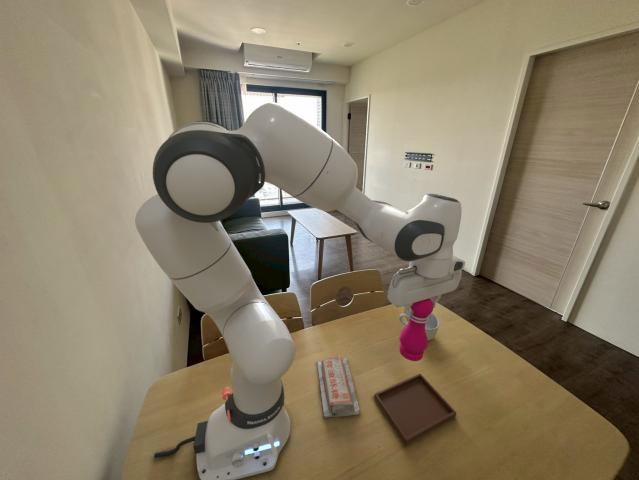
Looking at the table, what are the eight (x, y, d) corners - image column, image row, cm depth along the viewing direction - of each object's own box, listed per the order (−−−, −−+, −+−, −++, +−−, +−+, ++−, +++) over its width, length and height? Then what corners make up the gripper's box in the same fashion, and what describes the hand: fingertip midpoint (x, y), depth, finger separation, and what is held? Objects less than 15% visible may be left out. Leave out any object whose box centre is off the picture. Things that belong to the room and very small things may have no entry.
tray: (405, 445, 62) (406, 441, 61) (373, 398, 73) (374, 393, 72) (455, 417, 68) (456, 412, 67) (419, 377, 79) (420, 373, 78)
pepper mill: (420, 343, 73) (433, 284, 65) (428, 364, 66) (443, 301, 59) (395, 341, 73) (405, 282, 66) (400, 361, 67) (412, 299, 59)
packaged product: (361, 403, 66) (324, 407, 65) (360, 415, 68) (324, 419, 67) (347, 350, 83) (317, 352, 82) (346, 361, 85) (317, 363, 84)
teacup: (437, 331, 98) (441, 315, 95) (433, 350, 90) (437, 332, 87) (402, 318, 105) (404, 303, 102) (394, 334, 96) (397, 317, 93)
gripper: (404, 277, 53) (395, 329, 58) (470, 261, 61) (457, 308, 66) (385, 264, 58) (378, 313, 63) (448, 251, 66) (438, 295, 71)
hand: (419, 310), depth 65 cm, fingers closed on pepper mill, 6 cm apart
